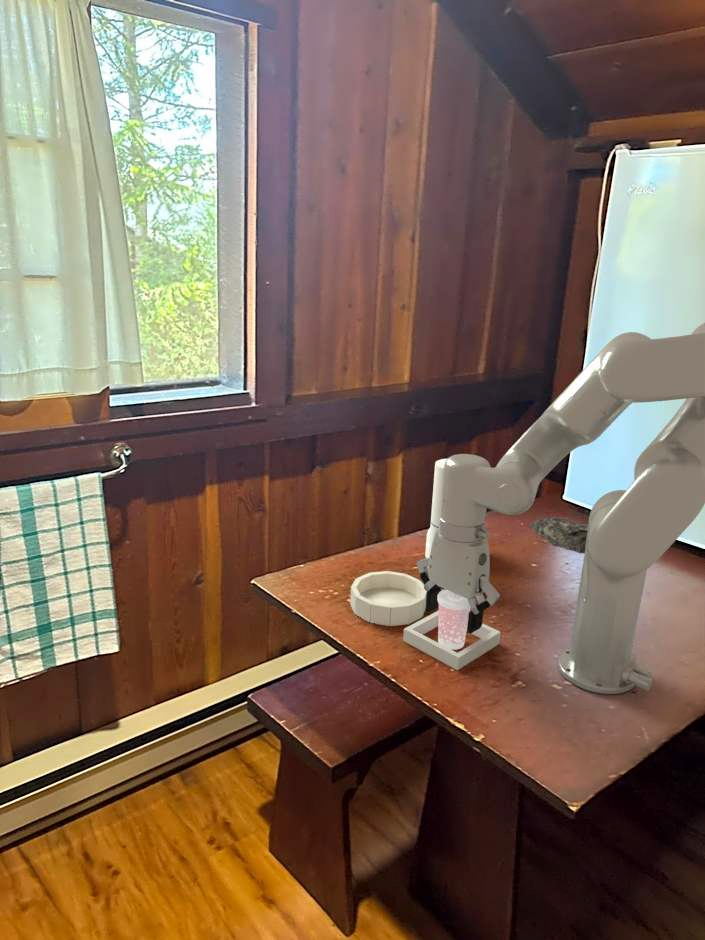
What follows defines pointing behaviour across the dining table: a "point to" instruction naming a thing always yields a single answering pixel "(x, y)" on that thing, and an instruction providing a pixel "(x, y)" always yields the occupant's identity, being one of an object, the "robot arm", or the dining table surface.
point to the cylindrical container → (436, 500)
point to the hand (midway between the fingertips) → (452, 619)
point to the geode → (562, 533)
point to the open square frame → (442, 653)
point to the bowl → (388, 598)
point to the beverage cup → (452, 619)
